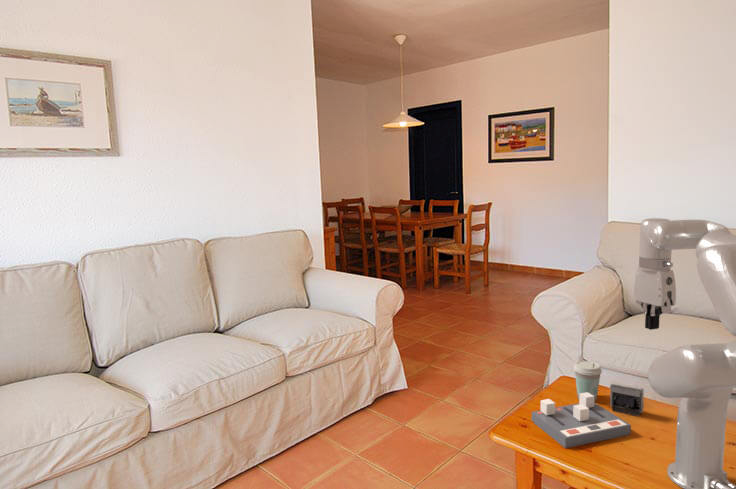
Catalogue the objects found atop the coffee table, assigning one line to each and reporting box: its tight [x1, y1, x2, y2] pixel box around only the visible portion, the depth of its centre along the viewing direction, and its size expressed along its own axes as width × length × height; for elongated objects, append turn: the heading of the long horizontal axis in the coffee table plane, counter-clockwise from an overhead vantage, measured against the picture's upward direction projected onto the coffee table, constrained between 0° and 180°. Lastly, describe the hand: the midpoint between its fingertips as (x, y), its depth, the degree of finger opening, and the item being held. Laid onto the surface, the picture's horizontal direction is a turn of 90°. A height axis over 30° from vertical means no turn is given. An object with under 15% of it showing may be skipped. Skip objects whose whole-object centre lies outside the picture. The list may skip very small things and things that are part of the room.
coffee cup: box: [573, 360, 603, 403], centre depth 161 cm, size 8×8×12 cm
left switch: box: [540, 398, 556, 416], centre depth 146 cm, size 3×3×4 cm
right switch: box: [578, 392, 595, 408], centre depth 150 cm, size 3×3×4 cm
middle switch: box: [573, 404, 589, 421], centre depth 142 cm, size 3×3×4 cm
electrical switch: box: [609, 382, 645, 417], centre depth 151 cm, size 9×5×9 cm, turn 57°
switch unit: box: [531, 402, 632, 449], centre depth 143 cm, size 16×22×3 cm
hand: (651, 328), depth 133 cm, fingers closed
